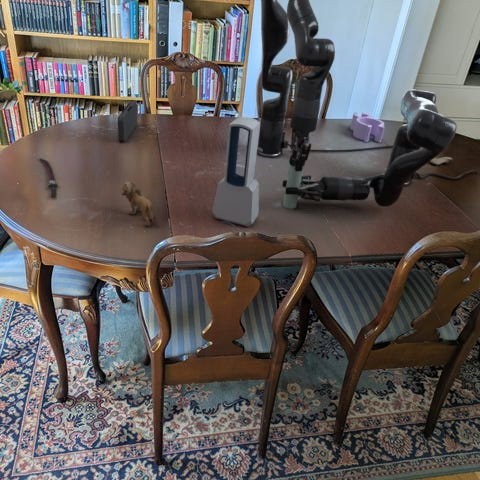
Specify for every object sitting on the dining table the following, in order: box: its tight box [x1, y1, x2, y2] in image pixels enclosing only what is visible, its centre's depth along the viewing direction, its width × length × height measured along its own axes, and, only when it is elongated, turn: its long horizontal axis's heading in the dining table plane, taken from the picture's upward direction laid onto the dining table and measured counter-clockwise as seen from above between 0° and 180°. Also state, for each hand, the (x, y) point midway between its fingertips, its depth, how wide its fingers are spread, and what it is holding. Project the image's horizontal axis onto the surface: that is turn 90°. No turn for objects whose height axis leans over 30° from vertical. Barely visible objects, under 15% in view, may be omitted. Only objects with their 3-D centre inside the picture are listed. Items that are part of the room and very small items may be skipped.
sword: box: [40, 158, 59, 198], centre depth 151 cm, size 31×3×1 cm, turn 26°
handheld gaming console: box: [117, 100, 138, 142], centre depth 188 cm, size 23×3×10 cm, turn 178°
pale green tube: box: [282, 164, 304, 210], centre depth 146 cm, size 4×4×16 cm
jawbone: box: [429, 156, 453, 166], centre depth 197 cm, size 9×20×2 cm, turn 50°
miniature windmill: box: [285, 62, 301, 122], centre depth 208 cm, size 9×8×30 cm
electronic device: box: [211, 116, 261, 227], centre depth 132 cm, size 12×8×30 cm, turn 71°
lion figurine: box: [119, 181, 159, 227], centre depth 134 cm, size 15×5×9 cm, turn 50°
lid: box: [288, 153, 306, 167], centre depth 142 cm, size 5×5×2 cm
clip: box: [349, 112, 386, 143], centre depth 214 cm, size 20×12×7 cm, turn 11°
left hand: (296, 167), depth 143 cm, fingers closed on lid, 4 cm apart
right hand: (284, 187), depth 147 cm, fingers closed on pale green tube, 4 cm apart
